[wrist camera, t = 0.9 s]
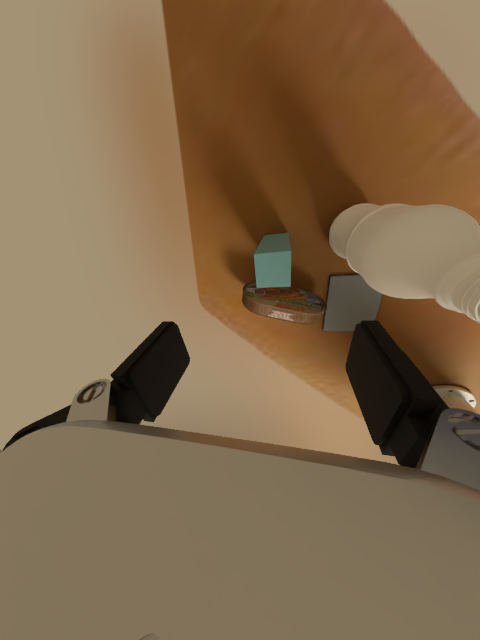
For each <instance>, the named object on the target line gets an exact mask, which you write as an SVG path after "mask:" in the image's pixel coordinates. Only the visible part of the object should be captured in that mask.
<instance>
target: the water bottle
mask: <svg viewBox="0 0 480 640" xmlns="http://www.w3.org/2000/svg"><path fill="white" fill-rule="evenodd" d="M329 244H330V246H331V248H332V250H333V251H334V252H335V253H336V254H337V255H338V256H340V257H342V258H345V259H347V263H348V265H349V266H350V268H351V269H352V270H353V271H355V272H356V273H358V274H360V275H361V276H362V277H363V278H364V280H365V282H366V283H367V284H368V285H369V286H370V287H371V288H373V289H374V290H376V291H378V292H379V293H381V294H384V295H387V296H390V297H395V298H403V299H427V298H435V301H436V302H437V303H438V304H439V305H441V306H442V307H444V308H446V309H449V310H453V311H456V312H459V313H464V314H466V315H467V316H468V317H470V318H471V319H473V320H475V321H477V322H479V323H480V226H479V224H478V223H477V221H476V220H475V219H474V218H473V217H471V216H470V215H469V214H468V213H466V212H464V211H462V210H460V209H458V208H455V207H452V206H447V205H439V204H431V205H423V206H410V205H407V204H385V205H382V206H379V205H376V204H371V203H362V204H357V205H354V206H352V207H350V208H348V209H346V210H344V211H343V212H341V213H340V214H339V215H338V216H337V217H336V219H335V220H334V221H333V223H332V225H331V227H330V231H329Z"/></svg>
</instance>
